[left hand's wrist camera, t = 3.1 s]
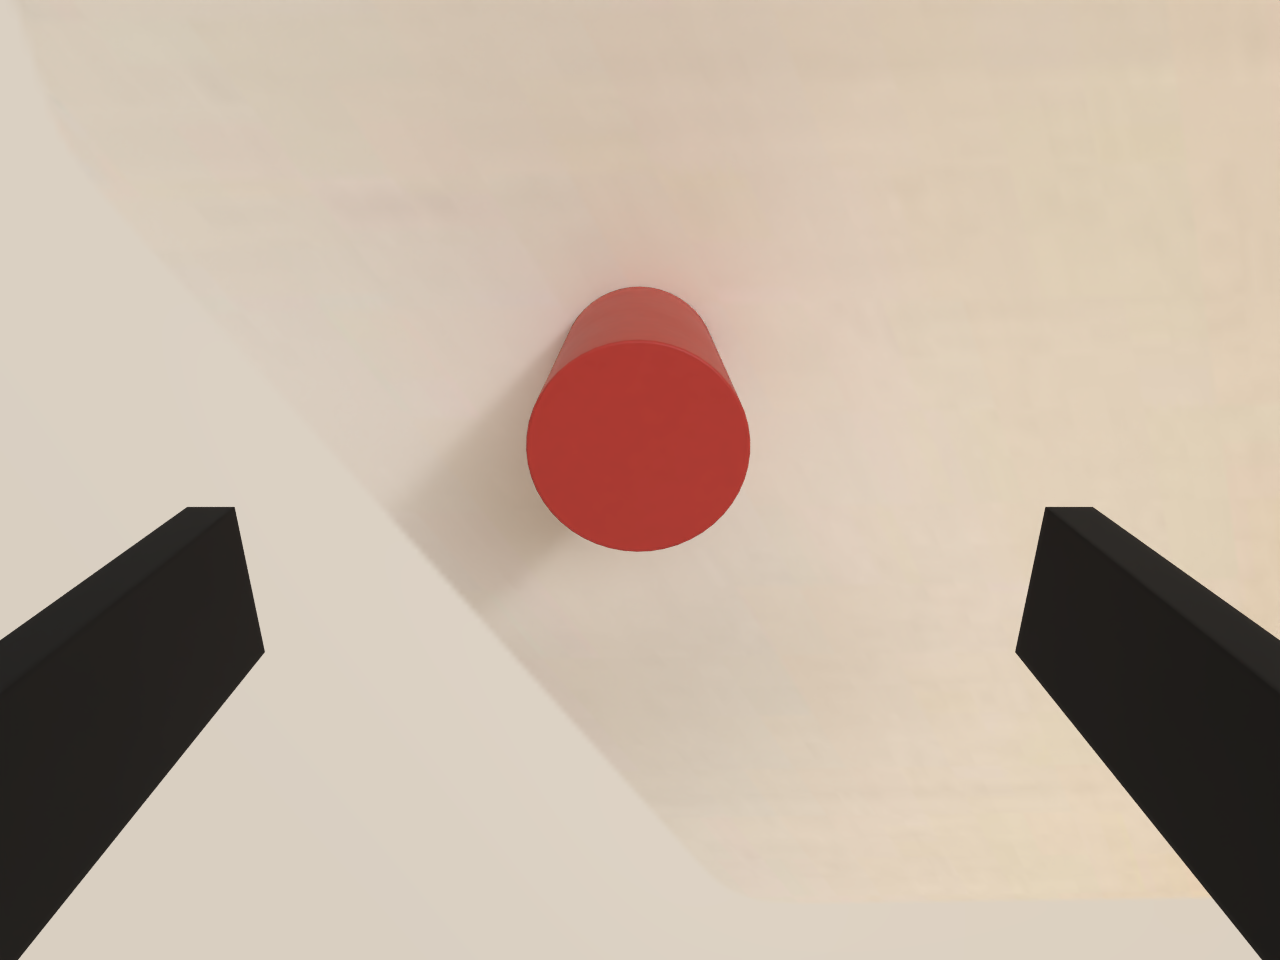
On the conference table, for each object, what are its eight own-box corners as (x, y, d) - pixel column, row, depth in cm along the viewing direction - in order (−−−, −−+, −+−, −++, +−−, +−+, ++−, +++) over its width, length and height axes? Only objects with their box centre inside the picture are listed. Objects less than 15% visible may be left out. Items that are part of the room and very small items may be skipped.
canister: (536, 389, 28) (487, 488, 19) (611, 256, 26) (596, 294, 17) (664, 462, 29) (674, 587, 20) (744, 338, 27) (795, 414, 18)
